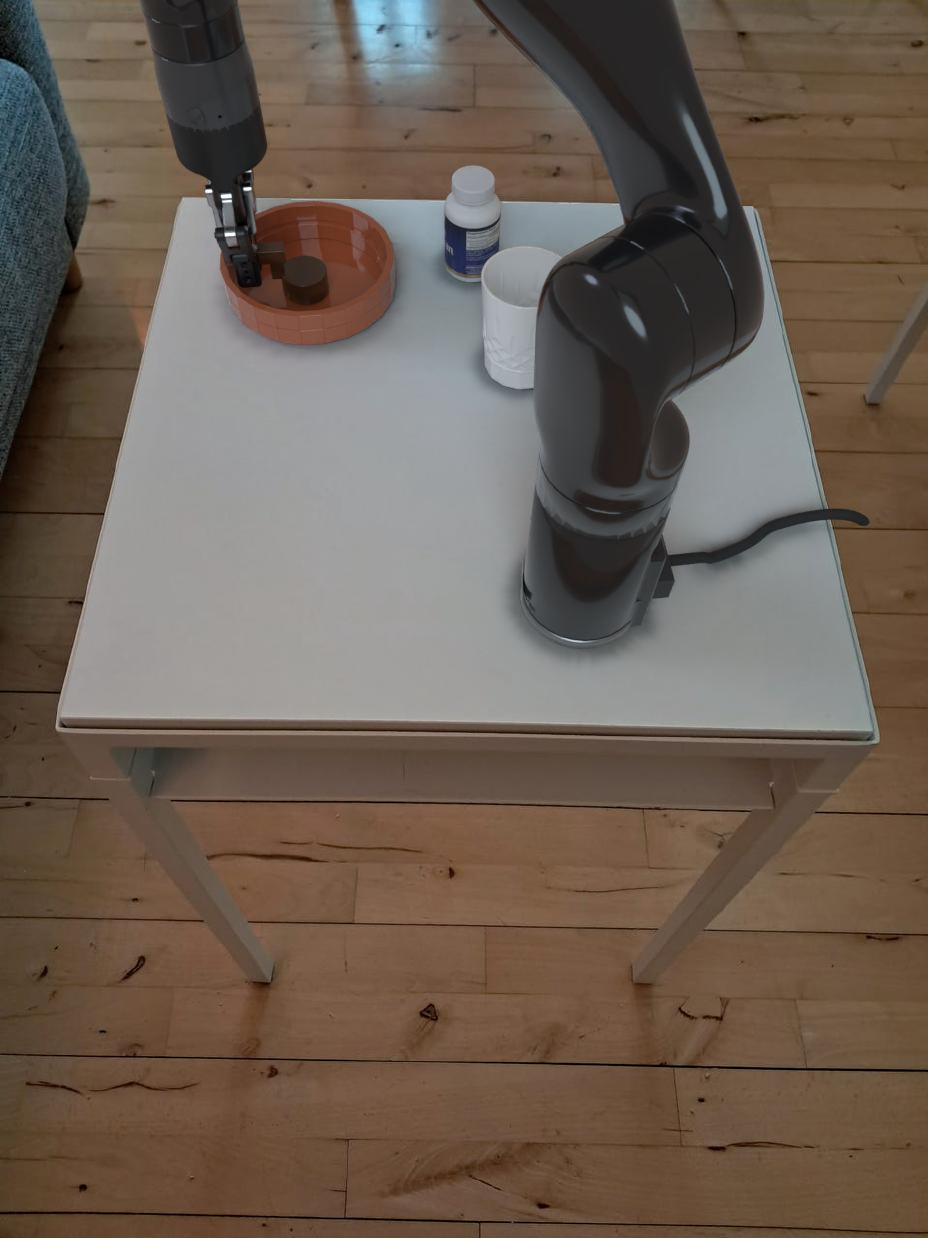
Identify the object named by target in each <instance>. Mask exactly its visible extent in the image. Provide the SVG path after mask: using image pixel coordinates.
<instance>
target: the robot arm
mask: <svg viewBox="0 0 928 1238" xmlns="http://www.w3.org/2000/svg"><path fill="white" fill-rule="evenodd" d="M138 2H139V5H140V10H141V13H142V17H143V21H144V25H145V28H146V32H147V36H148V40H149V43H150V47H151V52H152V53H151V54H152V59H153V67H154V74H155V78H156V79H155V80H156V83H157V87H158V90H159V95H160V98H161V101H162V106H163V109H164V112H165V116H166V120H167V125H168V128H169V131H170V135H171V138H172V143H173V147H174V151H175V153H176V157H177V159H178V161H179V163H180V164H181V165H182V167H184V168H185V169H186V170H188V171H189V172H191V173H193V174H194V175H197V176H200V177H203V178H205V179H206V180H207V183H204V193H205V199H206V202H207V205H208V206H209V208H211V210H212V214H213V220H214V222H215V228H214V232H213V235H214V236H213V237H214V239H215V240H216V244H217V245H218V247H219V249H220V252H221V251H222V253H223V255H224V257H225V259H226V261H227V263H233V264H234V268H235V272H236V277H237V281H238V285H239V286H240V287H242V288H248V287H259V286H261V284H262V276H261V270H262V265H259V262H258V257H257V251H256V250H258V248H257V245H256V244H255V243H257V239H256V235H254V234H256V233H257V229H258V228H257V220H256V215H255V214H257V213H258V212H257V209H258V207H257V206H258V205H257V204H258V202H257V197H256V191H255V187H254V185H255V172H254V168H255V167H257V166H259V164H260V163H261V162H262V161H263V160H264V158H265V157H266V154H267V150H268V139H267V134H266V133H267V132H266V129H265V128H266V127H265V123H264V116H263V111H262V106H261V105H262V104H261V99H260V95H259V90H258V84H257V77H256V73H255V67H254V61H253V59H252V55H251V53H250V49H249V46H248V43H247V38H246V35H245V30H244V26H243V25H244V24H243V19H242V14H241V7H240V3H239V0H138ZM472 2H473V3H474V4H475V6H476V7H477V8H478V9H479V10H480V12H481V13H482V14H483V15H484V16H485V17H486V18H487V19H488V20H489V22H490V23H491V24H492V25H493V26H494V27H495V28H496V29H497V30H498V31H499V33H501V34H502V36H504V38H505V39H506V40H507V41H509V43H510V44H511V45H512V46H513V47H514V48H515V49H516V50H518V52H520V53H521V54H522V55H523V57H525V58H526V59H527V61H529V62H530V63H531V64H532V65H533V67H535V68H536V70H538V71H539V72H540V73H541V74H542V75H543V76H545V78H546V79H548V81H550V83H551V84H553V86H554V87H556V89H557V90H558V91H559V92H560V93H561V94H562V95H563V96H564V97H565V98H566V99H567V100H568V101H569V103H570V104H571V105H572V107H573V108H574V109H575V111H576V112H577V114H579V116H580V117H581V119H582V120H583V122H584V124H585V125H586V127H587V129H588V130H589V132H590V134H591V135H592V138H593V139H594V141H595V143H596V145H597V148H598V149H599V152H600V155H601V158H602V159H603V162H604V164H605V167H606V169H607V172H608V175H609V177H610V181H611V183H612V186H613V189H614V192H615V195H616V197H617V201H618V204H619V208H620V212H621V217H622V223H623V224H621V225H619V226H618V227H616V228H614V229H611V230H610V231H609V232H606V233H605V234H603V235H601V236H599V237H597V238H595V239H594V240H592V241H589V242H588V243H586V244H584V245H583V246H580V247H579V248H577V249H575V250H574V251H572V252H570V253H568V254H566V255H565V256H563V257H562V259H561V260H560V261H558V262H557V263H556V264H555V265H554V266H553V268H552V269H551V270H550V272H549V274H548V275H547V277H546V279H545V282H544V284H543V287H542V290H541V293H540V297H539V301H538V308H537V315H536V330H535V360H534V383H533V388H532V406H533V407H532V408H533V414H534V420H535V424H536V425H535V426H536V428H537V433H538V435H539V440H540V442H539V450H538V451H539V452H538V457H537V466H536V474H535V482H534V490H533V498H532V505H531V512H530V513H531V514H530V521H529V529H528V536H527V544H526V552H525V559H524V556H522V558H521V580H520V581H521V582H520V589H519V590H520V591H519V599H520V605H521V609H522V612H523V613H524V615H525V618H526V619H527V621H528V622H529V623H530V625H531V626H532V627H533V628H534V629H535V630H536V631H537V632H538V634H541V635H542V636H543V637H544V638H545V639H548V640H549V641H551V642H554V643H556V644H557V645H558V644H559V645H561V646H564V647H569V648H573V649H574V648H575V649H593V648H598V647H602V646H605V645H609V644H610V643H612V642H614V641H616V640H617V639H619V638H620V637H622V636H623V635H624V634H625V633H626V632H627V631H628V630H629V629H630V628H631V627H638V626H642V625H643V624H644V622H645V620H646V616H647V615H648V611H649V608H650V605H651V602H652V600H654V599H655V600H656V599H666V598H669V597H670V595H671V592H672V589H673V587H674V585H675V582H676V581H675V576H674V573H673V569H672V567H678V566H687V565H696V564H697V565H699V564H706V565H711V564H716V563H719V562H722V561H725V560H728V559H730V558H732V557H736V556H737V555H739V554H742V553H743V552H746V551H748V550H749V549H751V548H753V547H754V546H756V545H757V544H759V543H760V542H761V541H763V540H764V539H765V538H766V537H768V536H769V535H770V534H772V533H775V532H777V531H779V530H783V529H786V528H790V527H795V526H797V525H802V524H806V523H812V522H819V521H832V520H833V521H835V520H837V521H847V522H852V523H855V524H857V525H858V526H859V527H866V526H869V525H870V523H871V522H870V519H869V518H868V516H866V515H865V514H863V513H861V512H859V511H856V510H854V509H853V510H852V509H846V508H819V509H812V510H807V511H802V512H797V513H792V514H789V515H785V516H781V517H779V518H778V517H777V518H775V519H773V520H769V521H768V522H765V523H764V524H763V525H762V526H760V527H759V528H757V529H756V530H755V531H754V532H753V533H752V534H750V535H748V536H747V537H745V538H743V539H741V540H739V541H737V542H735V543H733V544H731V545H728V546H726V547H723V548H721V549H717V550H713V551H710V552H708V551H694V552H693V551H692V552H684V553H683V552H682V553H674V554H668V550H667V546H666V542H665V539H664V535H663V532H664V530H665V526H666V523H667V520H668V517H669V514H670V512H671V509H672V508H671V507H672V505H673V502H674V499H675V496H676V494H677V490H678V488H679V485H680V481H681V478H682V475H683V473H684V470H685V467H686V463H687V461H688V457H689V452H690V447H691V446H690V445H691V437H690V428H689V426H688V422H687V420H686V418H685V415H684V413H683V412H682V410H681V409H680V407H679V406H678V405H677V404H676V403H675V401H673V400H674V399H675V398H676V397H678V396H680V395H681V394H683V393H684V392H686V391H687V390H688V389H690V388H692V387H694V386H696V385H697V384H698V383H700V382H702V381H703V380H705V379H706V378H708V377H710V376H711V375H713V374H714V373H716V372H717V371H719V370H721V369H722V368H724V367H725V366H727V365H728V364H730V363H731V362H732V361H734V360H735V359H736V358H738V357H740V355H742V353H744V352H745V351H746V350H747V349H748V348H749V347H750V346H751V344H752V343H753V342H754V340H755V339H756V337H757V335H758V334H759V333H758V332H759V331H760V329H761V326H762V322H763V318H764V313H765V312H764V311H765V284H764V275H763V271H762V267H761V260H760V256H759V252H758V249H757V246H756V245H757V244H756V241H755V238H754V235H753V231H752V229H751V226H750V223H749V220H748V217H747V215H746V214H747V213H746V212H745V208H744V206H743V202H742V200H741V197H740V195H739V192H738V189H737V185H736V184H735V181H734V178H733V176H732V172H731V170H730V167H729V164H728V162H727V158H726V156H725V153H724V151H723V150H724V149H723V148H722V145H721V142H720V139H719V137H718V135H717V131H716V129H715V126H714V122H713V120H712V117H711V114H710V111H709V108H708V106H707V103H706V100H705V97H704V95H703V92H702V87H701V85H700V82H699V80H698V75H697V72H696V70H695V67H694V64H693V60H692V56H691V54H690V50H689V47H688V44H687V40H686V37H685V33H684V29H683V25H682V22H681V18H680V15H679V11H678V8H677V4H676V1H675V0H472ZM524 560H525V561H524ZM523 561H524V562H523ZM523 563H524V564H523ZM523 566H524V567H523ZM523 568H524V569H523Z"/></svg>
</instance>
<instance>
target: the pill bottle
mask: <svg viewBox="0 0 928 1238" xmlns="http://www.w3.org/2000/svg"><path fill="white" fill-rule="evenodd" d="M495 191H496V179H495V176H494V174H493V172H492V171H491V170H490V169H488V168H486V167H484V166H480V165H466V166H465V165H464V166H462V167H459V168H458V169H457V170H455V171H454V172H453V174H452V176H451V192H450V193H449V194H448V195H447V197H446V198H445V201H444V206H443V207H444V210H443V215H444V216H443V219H444V221H443V223H444V227H443V230H444V231H443V232H444V233H443V234H444V235H443V236H444V266H445V269H446V271H447V273H449V275H450V276H451V277H453V278H454V279H455V280H458V281H461V282H464V283H465V282H466V283H479V282H481V273H482V269H483V267H484V265H485V263H486V262H487V260H488V259H489V258H490V257H492V256H493V255H494V254H496V253H498V252H500V238H501V237H500V233H501V217H502V204H501V200H500V198H499V197H498V195H497V194H496V193H495Z"/></svg>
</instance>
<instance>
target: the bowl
mask: <svg viewBox="0 0 928 1238" xmlns="http://www.w3.org/2000/svg"><path fill="white" fill-rule="evenodd" d="M255 215H256V220H257V228H258V229H257V233H256V234H254V235H256V239H257V243H267V242H284V248H285V257H286V261H287V260H289V259H291V258H293V257H297V256H313V257H316V258H318V259H320V260H321V261H322V262H323V263H324V264H325V265H326V268H327V276H328V285H329V291H328V293H327V295H326V296H325V297H324V298H323V299H322V300H320V301H319V302H316V303H313V304H297V303H294V302H292V301H290V300H289V299H288V298H287V297H286V296H285V295H284V292H283V286H282V280H281V279H272V274H271V269H270V264H264V265H262V270H261V276H262V284H261V286H259V287H248V288H242V287H240V286H239V285H238V281H237V277H236V272H235V268H234V266H225V264H224V259H223V255H222V251H221V250H220V255H219V271H220V276H221V280H222V283H223V288H224V292H225V296H226V298H227V301H228V305H229V307H230V309H231V312H232V313H233V314H234V315H235V317H236V318H237V319H238V320H239V322H240V323H242V325H244V326H245V327H247V328H248V329H250V330H251V331H252V332H254V333H256V334H257V335H259V336H261V337H265V338H268V339H270V340H273V341H276V342H279V343H284V344H293V345H301V346H306V345H321V344H328V343H332V342H337V341H339V340H343V339H347V338H350V337H352V336H354V335H356V334H358V333H360V332H362V331H363V330H367V329H368V328H369V327H370V326H371V325H372V324H374V323H375V322H376V321H377V320H378V319H380V318H381V317H382V316H383V315H384V314H385V312H386V310H387V309H388V308H389V306H390V305H391V304H392V302H393V298H394V295H395V291H396V288H397V282H396V266H395V265H396V264H395V262H396V261H395V252H394V243H393V242H392V240H391V237H389V234H388V233H387V230H386V229H385V228H384V227H383V226H382V225H381V224H380V223H379V222H378V221H377V220H376V219H375V218H373V217H372V216H370V215H369V214H366V213H365V212H363V211H361V210H360V209H358V208H355V207H352V206H349V205H345V204H342V203H339V202H328V201H320V200H307V201H292V202H288V203H284V204H280V205H275V206H272V207H270V208H267V209H264V210H262V211H260V212H256V213H255Z"/></svg>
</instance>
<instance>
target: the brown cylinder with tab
mask: <svg viewBox="0 0 928 1238" xmlns="http://www.w3.org/2000/svg"><path fill="white" fill-rule="evenodd" d="M255 244H256V245H257V248H258V250H256V251H257V257H258V262H259V265H264V264H270V269H271V274H272V279H281V280H282V286H283V292H284V295H285V296H286V297H287V298H288V299H289V300H290V301H292V302H294V303H297V304H313V303H316V302H319V301H320V300H322V299H323V298H324V297H325V296H326V295H327V293H328V291H329V285H328V276H327V268H326V265H325V264H324V263H323V262H322V261H321V260H320V259H318V258H316V257H313V256H297V257H293V258H291V259H289V260H287V261H286V257H285V248H284V242H267V243H255ZM222 255H223V253H222ZM223 259H224V264H225V266H234V264H233V263H227V261H226V259H225V257H224V255H223Z"/></svg>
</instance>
